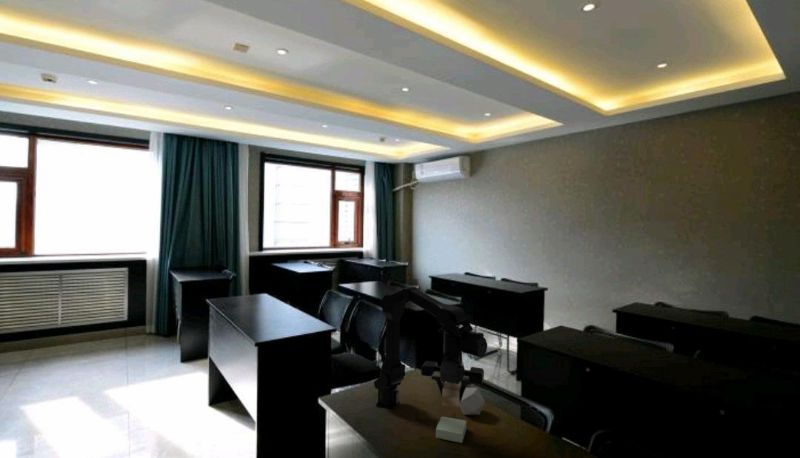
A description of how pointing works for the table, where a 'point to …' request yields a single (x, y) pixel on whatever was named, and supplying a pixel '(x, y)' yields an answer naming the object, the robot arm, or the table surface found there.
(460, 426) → the foundation slab
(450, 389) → the maple cube
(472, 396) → the die
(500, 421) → the table surface
